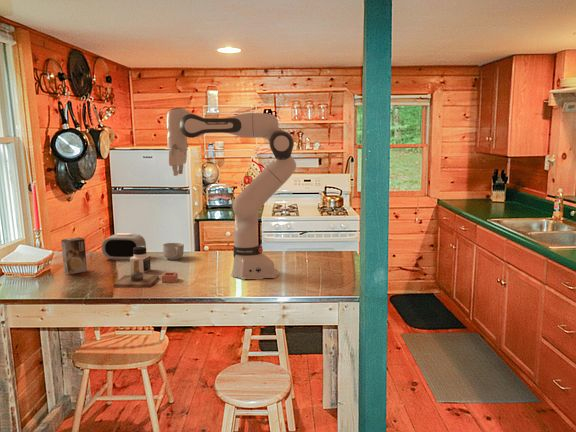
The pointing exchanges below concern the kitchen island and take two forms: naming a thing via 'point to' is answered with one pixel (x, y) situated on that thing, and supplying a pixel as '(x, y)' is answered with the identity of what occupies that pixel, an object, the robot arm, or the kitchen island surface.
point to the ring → (169, 277)
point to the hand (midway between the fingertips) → (178, 174)
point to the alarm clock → (121, 245)
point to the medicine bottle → (140, 259)
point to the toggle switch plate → (136, 278)
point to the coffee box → (74, 255)
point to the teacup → (173, 250)
